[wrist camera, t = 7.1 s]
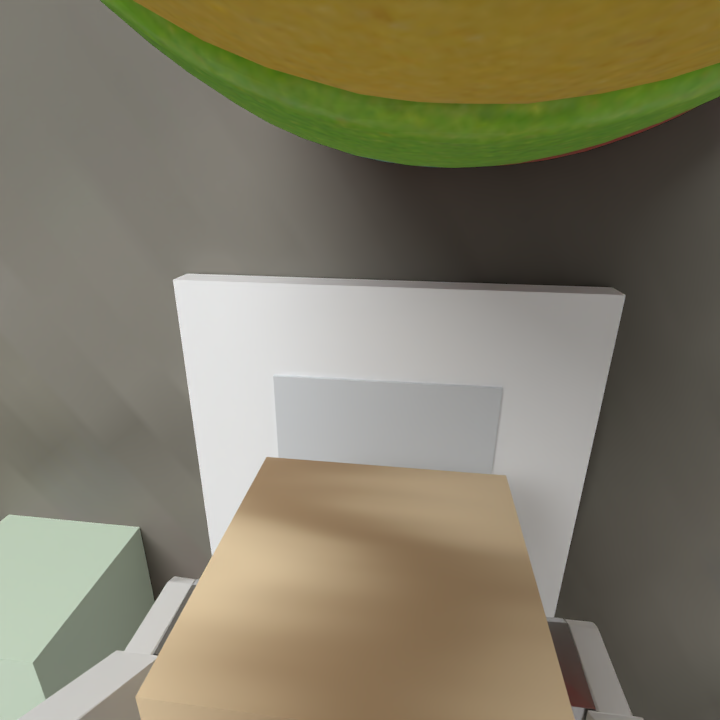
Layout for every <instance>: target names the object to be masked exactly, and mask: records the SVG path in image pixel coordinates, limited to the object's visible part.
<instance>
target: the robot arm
mask: <svg viewBox="0 0 720 720" xmlns="http://www.w3.org/2000/svg"><path fill="white" fill-rule="evenodd" d="M198 581H199V579H191V578H183V577H175V576H174V577H173V578H172V579H171V580H170V581H168V582H167V583H166V585H165V587H164V588H163V590H162V591H161V593H160V595H159V596H158V598H157V599H156V601H155V603H154V604H153V606H152V607H151V609H150V611H149V612H148V614H147V615H146V617H145V619H144V620H143V622H142V623H141V625H140V627H139V628H138V630H137V631H136V633H135V634H134V636H133V638H132V639H131V641H130V642H129V644H128V646H127V647H126V649H125V650H124V651H120V650H116V651H115V652H113V653H112V654H111V655H109V656H108V657H106V658H105V659H103V660H102V661H101V662H99V663H98V664H96V665H95V666H93V667H92V668H91V669H89V670H88V671H86V672H85V673H83V674H82V675H80V676H79V677H78V678H76V679H75V680H73V681H72V682H70V683H69V684H68V685H66V686H65V687H63V688H62V689H60V690H59V691H58V692H56V693H55V694H53V695H52V696H50V697H49V698H47V699H46V700H45V701H43V702H42V703H40V704H39V705H37V706H36V707H35V708H33V709H32V710H30V711H29V712H27V713H26V714H24V715H23V716H22V717H20V718H19V719H17V720H141V718H140V714H139V710H138V706H137V702H136V698H135V697H136V695H137V693H138V691H139V689H140V687H141V686H142V684H143V682H144V680H145V678H146V676H147V675H148V673H149V671H150V669H151V667H152V665H153V664H154V662H155V660H156V658H157V656H158V654H159V653H160V651H161V649H162V647H163V645H164V643H165V642H166V640H167V638H168V636H169V634H170V633H171V631H172V629H173V627H174V625H175V623H176V622H177V620H178V618H179V616H180V614H181V612H182V611H183V609H184V607H185V605H186V603H187V601H188V600H189V598H190V596H191V594H192V592H193V590H194V589H195V587H196V585H197V583H198ZM546 619H547V622H548V626H549V630H550V633H551V637H552V640H553V644H554V647H555V651H556V654H557V658H558V661H559V665H560V669H561V672H562V676H563V679H564V683H565V686H566V690H567V693H568V697H569V701H570V704H571V708H572V711H573V715H574V718H575V720H644V719H643V718H642V717H637V716H633V715H632V713H631V710H630V708H629V705H628V703H627V700H626V698H625V695H624V693H623V690H622V688H621V685H620V683H619V680H618V678H617V675H616V672H615V670H614V667H613V665H612V662H611V660H610V657H609V655H608V652H607V650H606V647H605V645H604V642H603V640H602V637H601V635H600V632H599V630H598V627H597V626H596V625H595V624H594V623H593V622H588V621H579V620H569V619H564V620H563V619H562V618H554V617H546Z"/></svg>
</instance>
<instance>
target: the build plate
mask: <svg viewBox="0 0 720 720" xmlns="http://www.w3.org/2000/svg"><path fill="white" fill-rule="evenodd" d="M173 283H174V290H175V297H176V305H177V312H178V319H179V326H180V333H181V340H182V347H183V354H184V361H185V368H186V375H187V382H188V389H189V397H190V404H191V411H192V418H193V425H194V432H195V439H196V446H197V453H198V460H199V467H200V474H201V481H202V489H203V496H204V503H205V510H206V517H207V524H208V531H209V538H210V545H211V552H212V556H213V554H214V552H215V550H216V548H217V546H218V545H219V543H220V541H221V539H222V537H223V536H224V534H225V532H226V530H227V528H228V526H229V525H230V523H231V521H232V519H233V517H234V515H235V514H236V512H237V510H238V508H239V506H240V504H241V503H242V501H243V499H244V497H245V495H246V493H247V492H248V490H249V488H250V486H251V484H252V482H253V481H254V479H255V477H256V475H257V473H258V471H259V470H260V468H261V466H262V464H263V462H264V460H265V459H266V457H274V458H287V459H300V460H313V461H326V462H339V463H352V464H365V465H378V466H391V467H404V468H416V469H429V470H442V471H455V472H468V473H481V474H494V475H506V477H507V481H508V484H509V488H510V491H511V495H512V498H513V502H514V505H515V509H516V512H517V516H518V520H519V523H520V527H521V530H522V534H523V537H524V541H525V544H526V548H527V551H528V555H529V559H530V562H531V566H532V569H533V573H534V576H535V580H536V583H537V587H538V591H539V594H540V598H541V601H542V605H543V608H544V612H545V615H546V617H554V615H555V611H556V606H557V602H558V597H559V593H560V588H561V584H562V579H563V575H564V570H565V566H566V561H567V557H568V552H569V548H570V543H571V539H572V534H573V530H574V525H575V521H576V516H577V512H578V507H579V503H580V498H581V494H582V489H583V485H584V480H585V476H586V471H587V467H588V462H589V458H590V453H591V449H592V444H593V440H594V435H595V431H596V426H597V422H598V417H599V413H600V408H601V404H602V399H603V395H604V390H605V386H606V382H607V377H608V373H609V368H610V364H611V359H612V355H613V350H614V346H615V341H616V337H617V332H618V328H619V323H620V319H621V314H622V310H623V305H624V301H625V296H626V295H625V294H623V293H621V292H620V291H618V290H616V289H615V288H613V287H587V286H556V285H525V284H494V283H463V282H431V281H400V280H369V279H338V278H307V277H276V276H245V275H214V274H185V275H183V276H181V277H178V278H176V279H174V280H173Z"/></svg>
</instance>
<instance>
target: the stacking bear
mask: <svg viewBox="0 0 720 720" xmlns="http://www.w3.org/2000/svg"><path fill="white" fill-rule="evenodd" d="M100 1H101V2H102V3H104V4H105V5H106V6H107V7H108V8H109V9H111V10H112V11H113V12H114V13H115V14H116V15H118V16H119V17H120V18H121V19H122V20H123V21H125V22H126V23H127V24H128V25H129V26H130V27H132V28H133V29H134V30H135V31H136V32H138V33H139V34H140V35H141V36H142V37H143V38H145V39H146V40H147V41H148V42H149V43H150V44H152V45H153V46H154V47H156V48H157V49H158V50H160V51H161V52H162V53H164V54H165V55H166V56H168V57H169V58H170V59H171V60H173V61H174V62H175V63H177V64H178V65H179V66H181V67H182V68H183V69H185V70H186V71H187V72H189V73H190V74H192V75H193V76H195V77H196V78H198V79H199V80H201V81H202V82H204V83H205V84H207V85H208V86H210V87H211V88H213V89H214V90H216V91H217V92H219V93H221V94H222V95H224V96H225V97H227V98H228V99H230V100H231V101H233V102H234V103H236V104H237V105H239V106H241V107H242V108H244V109H246V110H248V111H249V112H251V113H253V114H255V115H256V116H258V117H260V118H262V119H263V120H265V121H267V122H269V123H270V124H273V125H275V126H277V127H279V128H282V129H284V130H286V131H288V132H290V133H293V134H295V135H297V136H299V137H302V138H304V139H307V140H310V141H313V142H316V143H319V144H322V145H325V146H328V147H331V148H334V149H337V150H340V151H343V152H346V153H349V154H352V155H356V156H360V157H365V158H370V159H374V160H379V161H383V162H391V163H399V164H404V165H413V166H425V167H445V168H462V167H483V166H499V165H512V164H520V163H528V162H536V161H543V160H548V159H554V158H558V157H563V156H567V155H572V154H576V153H580V152H585V151H588V150H591V149H594V148H597V147H600V146H603V145H606V144H609V143H612V142H615V141H618V140H621V139H624V138H627V137H630V136H633V135H635V134H638V133H641V132H643V131H646V130H648V129H651V128H653V127H655V126H658V125H660V124H662V123H665V122H667V121H669V120H672V119H674V118H676V117H678V116H680V115H682V114H684V113H686V112H688V111H690V110H692V109H694V108H695V107H697V106H699V105H701V104H704V103H706V102H708V101H711V100H713V99H715V98H717V97H719V96H720V0H100Z"/></svg>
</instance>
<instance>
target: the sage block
mask: <svg viewBox="0 0 720 720" xmlns="http://www.w3.org/2000/svg"><path fill="white" fill-rule="evenodd" d="M154 603H155V601H154V596H153V591H152V586H151V581H150V576H149V571H148V566H147V561H146V556H145V552H144V547H143V542H142V537H141V532H140V527H132V526H122V525H111V524H101V523H90V522H80V521H69V520H59V519H49V518H38V517H28V516H17V515H8V516H6V517H5V518H4V519H3V520H2V521H0V720H17V719H19V718H20V717H22V716H23V715H24V714H26V713H27V712H29V711H30V710H32V709H33V708H35V707H36V706H37V705H39V704H40V703H42V702H43V701H45V700H46V699H47V698H49V697H50V696H52V695H53V694H55V693H56V692H58V691H59V690H60V689H62V688H63V687H65V686H66V685H68V684H69V683H70V682H72V681H73V680H75V679H76V678H78V677H79V676H80V675H82V674H83V673H85V672H86V671H88V670H89V669H91V668H92V667H93V666H95V665H96V664H98V663H99V662H101V661H102V660H103V659H105V658H106V657H108V656H109V655H111V654H112V653H113V652H115V651H116V650H120V651H124V650H125V649H126V647H127V646H128V644H129V642H130V641H131V639H132V638H133V636H134V634H135V633H136V631H137V630H138V628H139V627H140V625H141V623H142V622H143V620H144V619H145V617H146V615H147V614H148V612H149V611H150V609H151V607H152V606H153V604H154Z"/></svg>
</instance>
